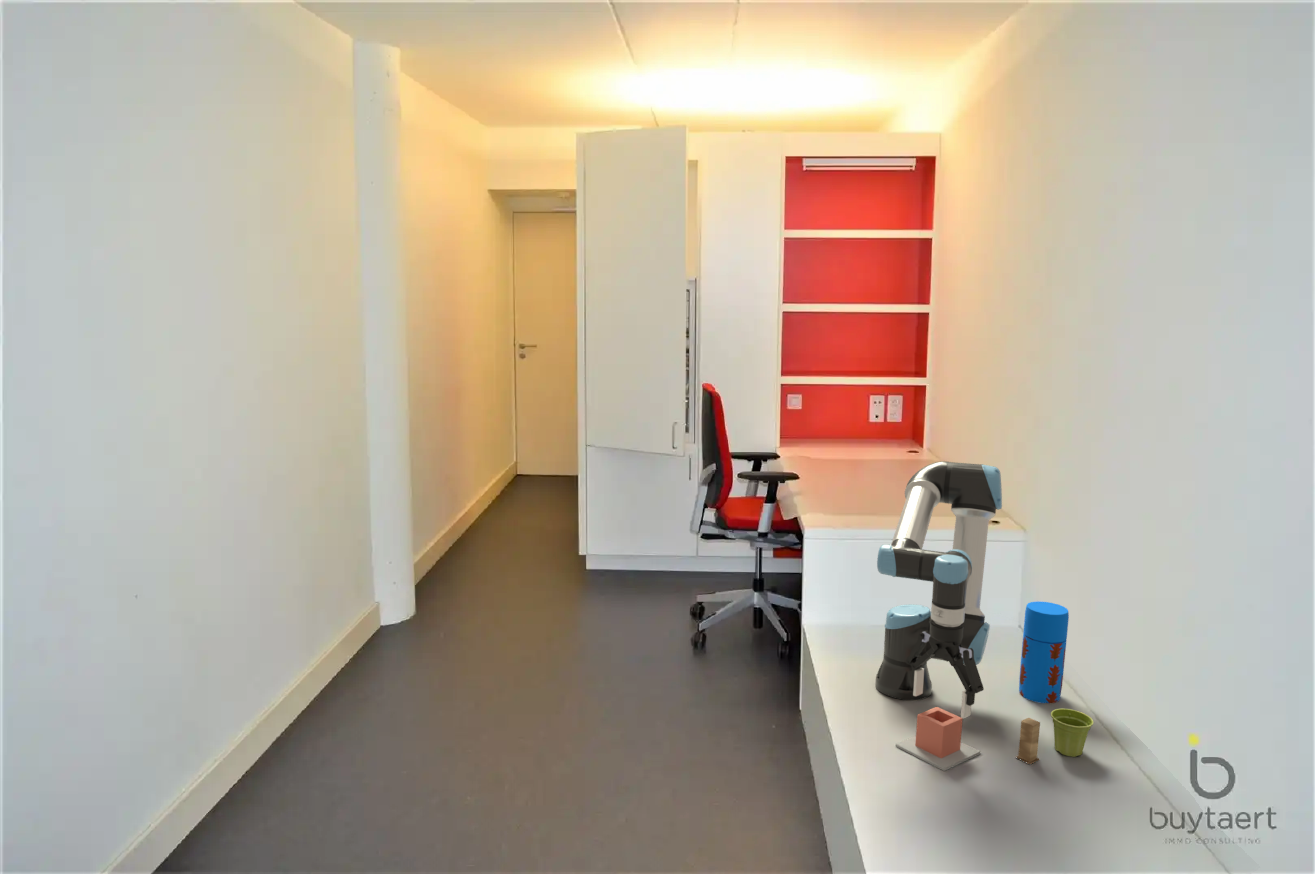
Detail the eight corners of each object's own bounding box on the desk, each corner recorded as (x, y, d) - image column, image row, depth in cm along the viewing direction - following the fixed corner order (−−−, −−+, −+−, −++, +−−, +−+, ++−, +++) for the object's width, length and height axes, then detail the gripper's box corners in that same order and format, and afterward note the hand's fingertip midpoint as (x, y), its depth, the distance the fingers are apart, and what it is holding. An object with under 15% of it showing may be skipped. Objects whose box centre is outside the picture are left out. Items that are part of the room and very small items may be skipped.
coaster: (895, 746, 223) (895, 743, 223) (931, 730, 232) (931, 728, 232) (944, 770, 212) (944, 768, 212) (980, 753, 221) (980, 751, 220)
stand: (1015, 757, 219) (1018, 720, 217) (1024, 753, 221) (1027, 716, 220) (1030, 764, 216) (1033, 726, 214) (1039, 760, 218) (1042, 722, 217)
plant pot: (1087, 745, 226) (1091, 712, 224) (1092, 763, 217) (1095, 729, 215) (1046, 738, 229) (1049, 705, 227) (1048, 756, 220) (1052, 722, 218)
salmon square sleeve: (915, 745, 223) (917, 714, 221) (934, 737, 227) (936, 706, 226) (941, 758, 217) (943, 726, 215) (960, 749, 221) (962, 718, 220)
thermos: (1011, 686, 258) (1018, 601, 254) (1048, 686, 259) (1056, 600, 255) (1030, 704, 248) (1038, 615, 244) (1068, 703, 248) (1077, 614, 244)
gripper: (894, 608, 224) (889, 689, 228) (984, 642, 205) (977, 730, 209) (913, 602, 229) (908, 681, 233) (1003, 634, 209) (996, 721, 213)
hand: (941, 705), depth 221 cm, fingers open, 13 cm apart
